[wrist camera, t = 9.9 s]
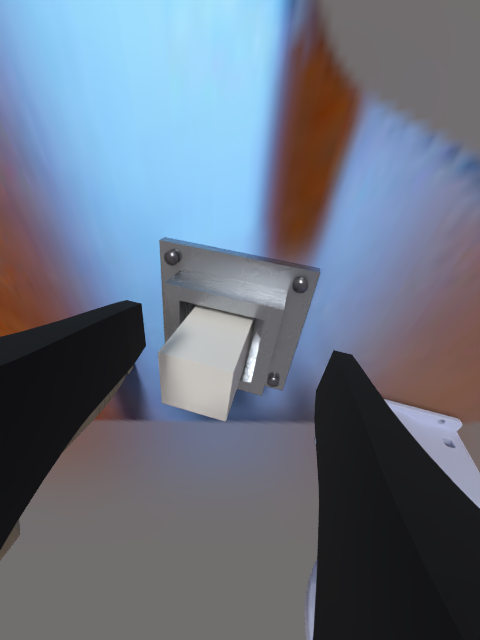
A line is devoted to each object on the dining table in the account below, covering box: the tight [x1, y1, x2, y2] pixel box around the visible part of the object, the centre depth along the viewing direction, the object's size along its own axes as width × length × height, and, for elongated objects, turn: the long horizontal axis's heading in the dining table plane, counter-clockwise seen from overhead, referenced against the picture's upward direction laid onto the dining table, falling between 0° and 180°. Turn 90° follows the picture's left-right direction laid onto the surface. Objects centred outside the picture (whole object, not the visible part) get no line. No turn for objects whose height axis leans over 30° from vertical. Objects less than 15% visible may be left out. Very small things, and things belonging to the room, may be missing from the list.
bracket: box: [159, 237, 320, 396], centre depth 19 cm, size 11×11×4 cm
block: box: [158, 305, 256, 422], centre depth 16 cm, size 4×4×7 cm
